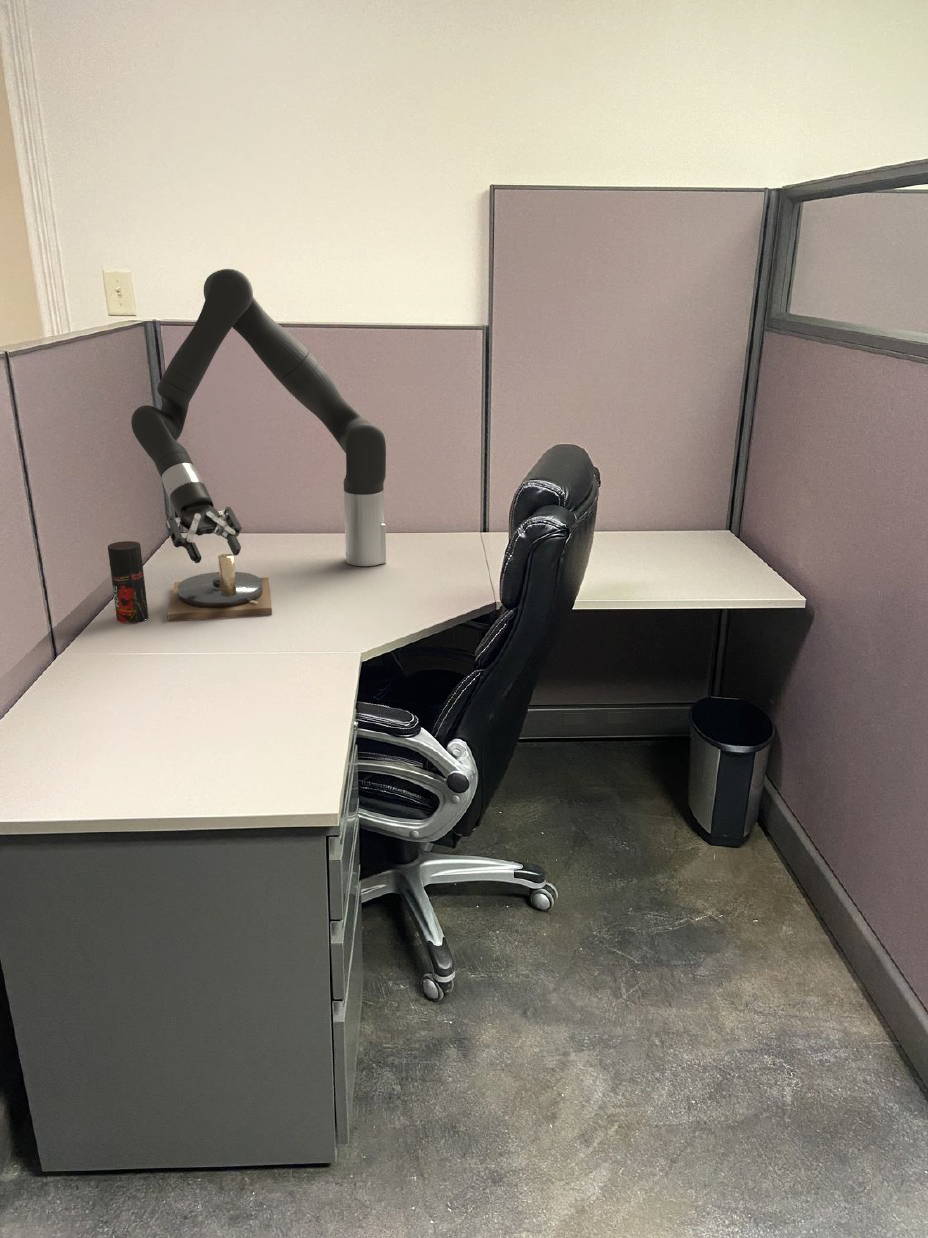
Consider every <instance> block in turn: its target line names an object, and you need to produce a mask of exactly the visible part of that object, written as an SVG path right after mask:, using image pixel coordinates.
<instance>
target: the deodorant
mask: <svg viewBox="0 0 928 1238" xmlns="http://www.w3.org/2000/svg"><path fill="white" fill-rule="evenodd" d="M107 552H108V558H109V559H108V561H109V567H110V568H109V569H110V575H111V577H110V578H111V584H112V592H113V598H114V608H115V614H116V615H115V617H116V621H117V622H118V623H119V624H127V625H128V624H129V625H131V624H138V622H139V623H141V622H145V621H146V620H145V619H147V620H148V619H149V617H148V616H149V609H148V601H147V591H146V585H145V584H146V583H145V581H146V580H145V575H144V574H145V573H144V567H143V557H142V556H143V555H142V546H141V543H140V542H138V541H132V540H131V541H129V540H125V541H124V540H123V541H117V542H116V541H115V542H113V543H110V544H108V545H107ZM144 620H145V621H144Z"/></svg>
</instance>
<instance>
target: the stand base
mask: <svg viewBox="0 0 928 1238" xmlns="http://www.w3.org/2000/svg"><path fill="white" fill-rule="evenodd" d="M259 578H260V579H261V580H262V586H263V593H262V594H261V596H259V597H258V598H256V599H254V600H252V601H250V602H247V603H243V604H239V605H233V606H226V607H200V606H194V605H189V604H186V603H184V602H182V601H181V600H180V599H179V595H178V585H179V584H180V583H181V582H182V581H174V582H173V587H172V591H171V597H170V601H169V607H168V612H167V618H168V622H178V621H180V622H181V621H194V620H211V619H227V618H241V617H243V618H244V617H256V616H259V617H260V616H269V615H270V616H272V615H273V608H272V597H271V588H270V587H271V586H270V577H269V576H268V577H264V576H263V577H259Z"/></svg>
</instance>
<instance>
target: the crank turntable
mask: <svg viewBox="0 0 928 1238" xmlns="http://www.w3.org/2000/svg"><path fill="white" fill-rule="evenodd" d="M217 559H218V570H219V571H214V572H207V573H202V574H201V573H200V574H197V575H193V576H190V577H188V578H186V579H183V580H182V581H180V582H181V583H180V584H179V585H178V595H179V599H180V600H181V601H182V602H184V603H186V604H189V605H194V606H200V607H226V606H233V605H239V604H243V603H247V602H250V601H252V600H254V599H256V598H258V597H259V596H261V594H262V593H263V586H262V580H261V579H260V578H261V577H259V576H257V575H255V574H252V573H247V572H241V571H236V567H235V556H234V555H233V553H232V554H231V553H223V554H219V555H218V556H217Z"/></svg>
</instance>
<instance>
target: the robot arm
mask: <svg viewBox="0 0 928 1238" xmlns="http://www.w3.org/2000/svg"><path fill="white" fill-rule="evenodd" d="M203 296H204V297H203V298H204V303H203V305H202V308H201V311H200V314H199V316H198V318H197V320H196V321H195V324H194V326H193V327H192V329H191V330H190V332H189V333H188V335H187V336H186V338H185V339H184V340H183V343H182V344H181V345H180V346H179V348H178V350H177V351H176V352H175V354H174V356H173V357H172V359H171V360H170V362H169V364H168V365H167V367H166V369H165V371H164V373H163V374H162V377H161V379H160V380H159V382H158V384H157V387H156V392H157V393H158V395H159V396H160V397H161V398H162V403H161V407H160V408H157V407H155V406H154V405H141V406H139V407H137V408H136V409H135V410H134V412H133V413H132V415H131V419H130V420H131V422H130V424H131V430H132V432H133V434H134V437H135V438H136V440H137V441H138V443H139V444H140V447H142V448H143V450H144V451H145V453H146V454H147V455H148V456H149V457H150V459H151V460H152V461H153V462H154V465H155V466H156V467H155V468H156V470H157V472H158V474H159V477H160V479H161V480H162V484H163V486H164V490H165V493H166V495H167V496H168V498H169V501H170V502H171V504H172V507H173V509H174V511H175V513H176V515H177V516H178V517H175V516H173V515H169V516H168V519H167V521H166V523H165V526H166V528H167V529H166V530H167V532H168V534H169V536H170V539H171V542H172V545H173V546H174V547H175V548H181V547H183V548H184V549H185V550H186V552H187V555H188V556H189V558H190V560H191V561H192V562H194V563H195V564H200V562H201V560H202V555H201V553H200V551H199V549H198V547H197V544H196V542H194V538H195V535H196V536H197V537H199V536H203V535H211V534H215V535H216V536H218V537H220V536H221V537H222V538H224V539H225V540H227V541H226V542H227V544H228V547H229V549H230V551H231V553H232V555H234V557H236V556H238V555H239V553H241V549H242V545H241V543H240V542H239V539H238V536H239V535H240V533H241V532H242V530H243V527H242V525H241V524H240V522H239V520H238V518H237V517H236V514H235V513H234V511H233V510H232V507H230V506H226V507H225V509H222V510H221V509H220V510H218V509H216V507H215V505H214V502H213V500H212V498H211V494H210V493H209V491H208V489H207V487H206V485H205V483H204V481H203V479H202V477H201V475H200V473H199V472H198V470H197V469H196V467H195V465H194V463H193V461H192V459H191V457H190V455H189V452H188V451H187V450H186V448H185V447H184V446H183V445H182V444H181V443H180V442H178V439H179V438H180V436H181V435H182V432H183V430H184V426H185V422H186V420H187V419H186V418H187V414H188V410H189V406H190V402H191V400H192V399H193V397H194V395H195V393H196V391H197V389H198V388H199V385H200V384H201V382H202V380H203V378H204V376H205V374H206V372H207V371H208V369H209V367H210V364H211V363H212V361H213V359H214V357H215V355H216V353H217V351H218V349H220V346H221V344H222V343H223V341H224V340H225V338H226V337H227V335H228V334H229V332H230V331H231V329H233V330H235V332H237V334H239V335H240V336H241V337H242V338H243V340H245V342H247V344H248V345H249V347H250V348H251V349H252V350H253V351H254V353H255V354H256V356H258V358H259V359H260V360H261V362H262V363H263V365H265V367H266V368H267V370H269V371H270V372H271V374H272V375H273V376H274V377H275V379H276V380H278V382H279V383H280V384H281V386H283V387H284V388H285V389H286V390H287V392H289V394H290V395H292V396H293V397H294V398H295V399H296V400H297V401H298V402H299V403H300V404H301V405H302V406H304V407H305V409H307V410H308V411H310V413H312V414H313V415H314V416H316V417H317V419H318V420H319V421H321V423H322V424H323V425H324V426H325V428H326V429H327V431H329V432H330V434H331V435H332V437H333V438H334V439H335V441H336V442H337V443H338V445H339V446H340V448H341V449H342V451H343V452H344V453H345V464H346V465H345V468H346V469H345V477H344V479H343V502H344V503H343V504H344V505H343V506H344V507H343V509H344V510H343V511H344V537H345V540H344V542H345V543H344V544H345V562H346V563H347V564H348V565H351V566H354V567H355V566H357V567H373V566H378V565H381V564H387V539H386V538H387V534H386V532H387V531H386V530H387V529H386V523H385V509H384V508H385V505H384V504H385V503H384V501H385V500H384V485H385V484H384V483H385V480H386V475H387V470H386V469H387V444H386V438H385V435H384V433H383V431H382V429H380V428H379V427H378V426H377V425H376V424H374V423H373V422H371V421H369V420H367V419H366V418H365V416H363V415H361V414H360V413H359V411H357V410H356V409H355V408H354V407H353V406H352V405H351V404H350V403H349V402H348V401H347V400H346V399H345V398H344V397H343V395H342V394H341V392H339V391H340V390H339V389H338V388H337V386H336V384H335V383H334V382H333V380H332V379H331V377H330V375H329V374H328V372H327V371H326V370H325V368H324V367H323V366H322V364H321V363H320V362H319V361H318V360H317V358H316V357H314V356H313V354H312V353H311V352H310V351H309V349H308V348H307V347H305V345H304V344H302V343H301V342H300V341H299V340H298V339H297V338H296V337H294V336H293V334H291V333H290V332H289V331H287V330H286V329H285V328H284V327H282V326H281V325H280V324H279V323H278V322H276V321H275V320H274V319H273V318H272V317H271V316H270V315H269V314H268V313H267V312H266V311H265V309H263V307H262V306H261V305H260V304H259V302H258V301H257V300H256V298H255V297H254V295H253V286H252V284H251V282H250V280H249V279H248V277H247V276H246V275H245V274H244V273H242V272H241V271H239V270H236V269H233V268H225V269H224V268H223V269H219V270H216V271H214V272H212V273H211V274H210V275H208V276H207V277H206V280H204V284H203ZM220 518H221V519H220ZM180 526H181V527H183V528H184V529H186V530H187V533H186V534H185V535H186V536H185V537H183V535H182V533H181V530H180V528H179V527H180ZM218 527H219V528H218Z"/></svg>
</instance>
